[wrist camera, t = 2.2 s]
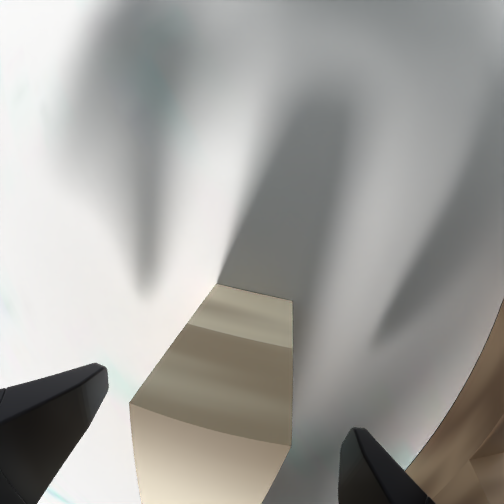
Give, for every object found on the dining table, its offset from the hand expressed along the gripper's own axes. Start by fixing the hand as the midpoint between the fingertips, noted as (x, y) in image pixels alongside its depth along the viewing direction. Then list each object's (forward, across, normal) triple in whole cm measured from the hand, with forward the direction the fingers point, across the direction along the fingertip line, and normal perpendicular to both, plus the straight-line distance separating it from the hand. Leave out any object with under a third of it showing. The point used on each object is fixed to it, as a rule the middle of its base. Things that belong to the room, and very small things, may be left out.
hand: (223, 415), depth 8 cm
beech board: (+3, 0, +4) cm, 5 cm away
